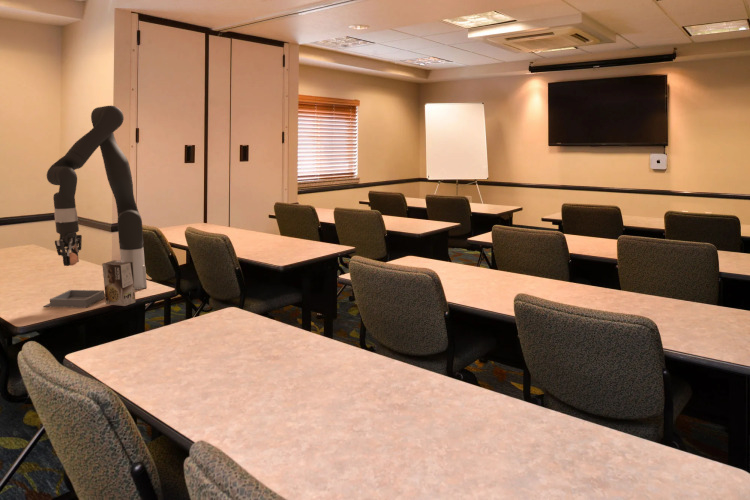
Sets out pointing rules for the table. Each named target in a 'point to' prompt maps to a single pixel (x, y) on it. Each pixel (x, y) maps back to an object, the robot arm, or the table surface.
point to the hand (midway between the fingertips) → (71, 263)
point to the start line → (47, 305)
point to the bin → (77, 298)
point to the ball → (73, 258)
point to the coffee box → (119, 282)
